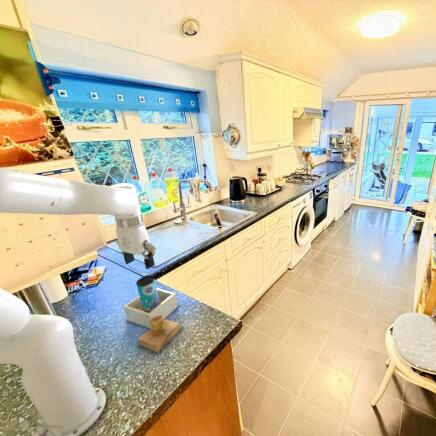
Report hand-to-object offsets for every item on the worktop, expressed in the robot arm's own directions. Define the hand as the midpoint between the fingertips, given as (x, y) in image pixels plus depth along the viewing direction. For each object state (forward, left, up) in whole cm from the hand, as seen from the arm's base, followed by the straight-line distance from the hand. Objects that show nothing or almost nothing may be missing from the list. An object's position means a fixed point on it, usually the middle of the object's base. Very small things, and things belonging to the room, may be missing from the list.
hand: (140, 264), depth 85 cm
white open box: (0, 0, -23) cm, 23 cm away
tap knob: (-8, -12, -20) cm, 24 cm away
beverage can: (0, 0, -23) cm, 23 cm away
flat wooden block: (-8, -12, -23) cm, 27 cm away
